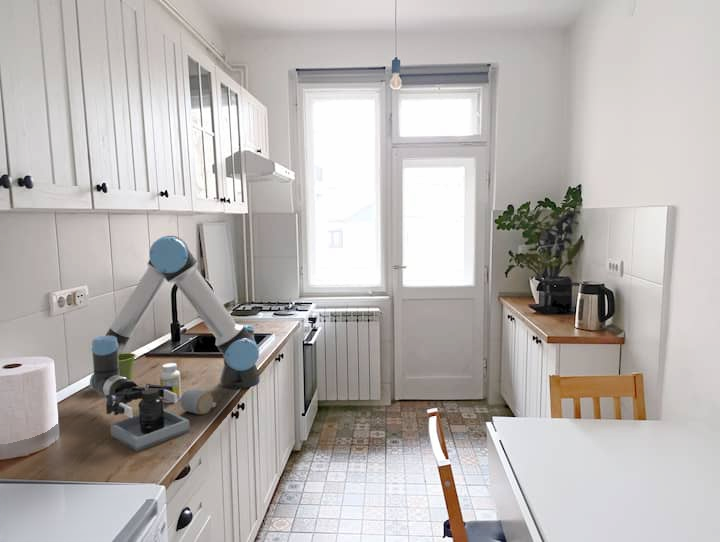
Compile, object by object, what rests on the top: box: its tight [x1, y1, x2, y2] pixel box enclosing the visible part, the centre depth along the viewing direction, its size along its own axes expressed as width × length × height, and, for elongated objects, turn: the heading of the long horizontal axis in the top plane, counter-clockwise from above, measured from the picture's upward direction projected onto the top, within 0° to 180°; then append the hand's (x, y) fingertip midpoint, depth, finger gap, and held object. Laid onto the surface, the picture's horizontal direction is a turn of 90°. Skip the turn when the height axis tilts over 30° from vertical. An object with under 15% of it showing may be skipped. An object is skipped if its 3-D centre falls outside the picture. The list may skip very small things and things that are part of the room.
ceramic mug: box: [180, 387, 217, 415], centre depth 157 cm, size 11×8×8 cm
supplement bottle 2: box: [159, 362, 182, 404], centre depth 166 cm, size 7×7×13 cm
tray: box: [109, 408, 191, 452], centre depth 140 cm, size 16×16×4 cm
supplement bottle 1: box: [138, 388, 165, 434], centre depth 140 cm, size 7×7×12 cm
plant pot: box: [119, 352, 137, 381], centre depth 182 cm, size 12×12×11 cm
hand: (154, 405), depth 137 cm, fingers open, 13 cm apart
